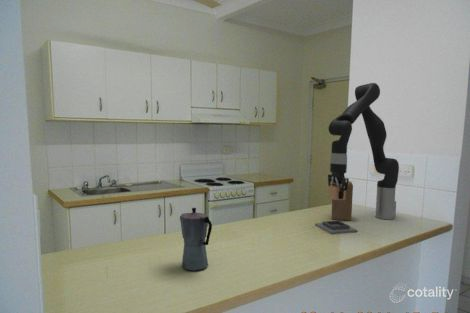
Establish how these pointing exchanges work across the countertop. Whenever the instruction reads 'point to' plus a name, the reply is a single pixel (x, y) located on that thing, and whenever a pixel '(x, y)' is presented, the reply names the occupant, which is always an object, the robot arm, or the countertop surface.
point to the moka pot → (195, 239)
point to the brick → (335, 192)
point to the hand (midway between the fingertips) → (336, 197)
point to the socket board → (335, 227)
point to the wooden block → (343, 205)
